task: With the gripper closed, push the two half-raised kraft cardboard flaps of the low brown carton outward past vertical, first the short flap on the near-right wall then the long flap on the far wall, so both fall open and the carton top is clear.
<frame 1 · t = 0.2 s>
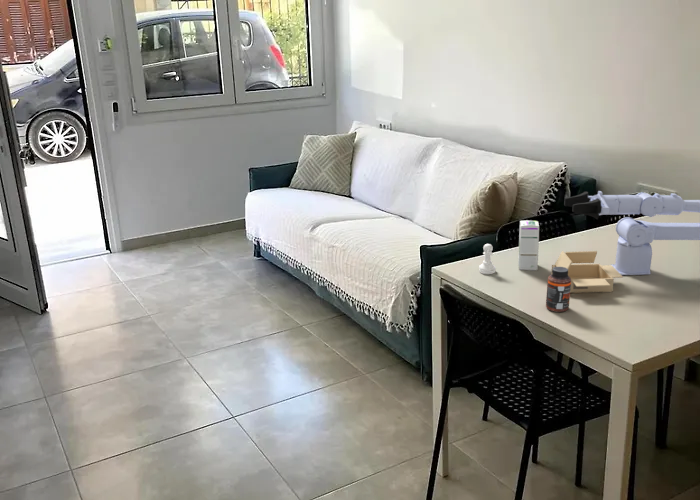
hand: (568, 205, 192), 21 cm above the table, tool horizontal, fingers open, 7 cm apart
chess pawn: (487, 272, 203), on the table
carton: (580, 284, 190), on the table
flap short: (579, 257, 192), point 7 cm above the table, hinge at -25.0°
supplement bottle: (557, 309, 176), on the table
flap long: (563, 263, 188), point 7 cm above the table, hinge at -25.0°
syrup box: (527, 267, 205), on the table
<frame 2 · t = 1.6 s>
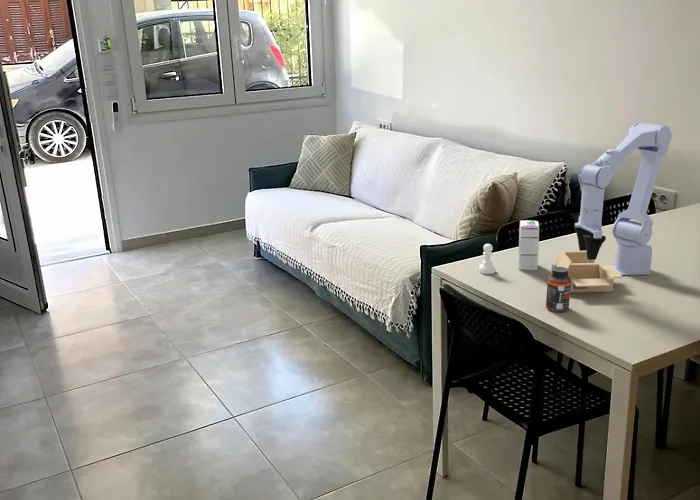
hand: (587, 254, 185), 10 cm above the table, tool pointing down, fingers open, 7 cm apart
nothing on the table moved.
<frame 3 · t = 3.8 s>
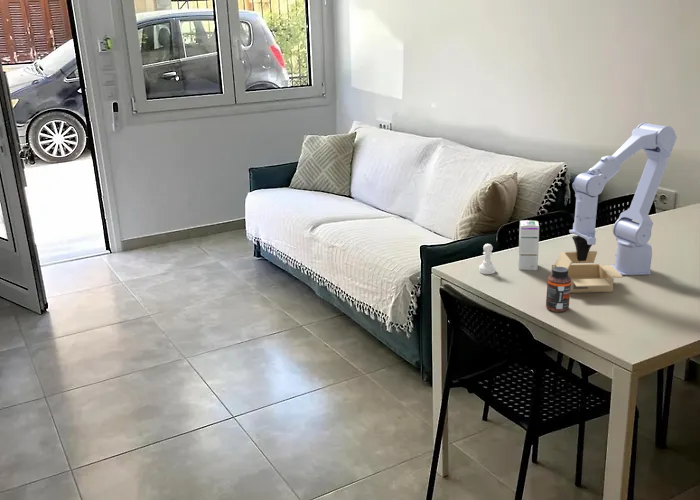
hand: (581, 260, 191), 6 cm above the table, tool pointing down, fingers closed, pressing on flap short
flap short: (579, 257, 192), point 7 cm above the table, hinge at -24.6°, touching gripper
everything else where it was.
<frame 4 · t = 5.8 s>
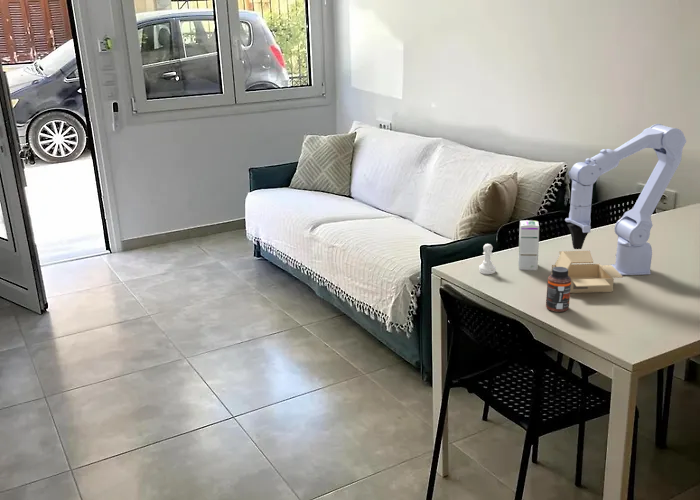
hand: (577, 248, 195), 8 cm above the table, tool pointing down, fingers closed
flap short: (576, 257, 196), point 6 cm above the table, hinge at 62.3°
everything else where it was.
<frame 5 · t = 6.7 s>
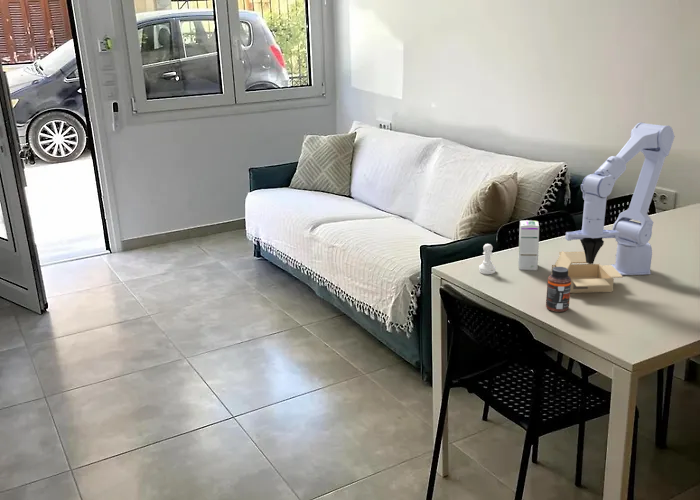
hand: (589, 262, 188), 7 cm above the table, tool pointing down, fingers closed
flap short: (576, 257, 196), point 6 cm above the table, hinge at 65.6°
everything else where it was.
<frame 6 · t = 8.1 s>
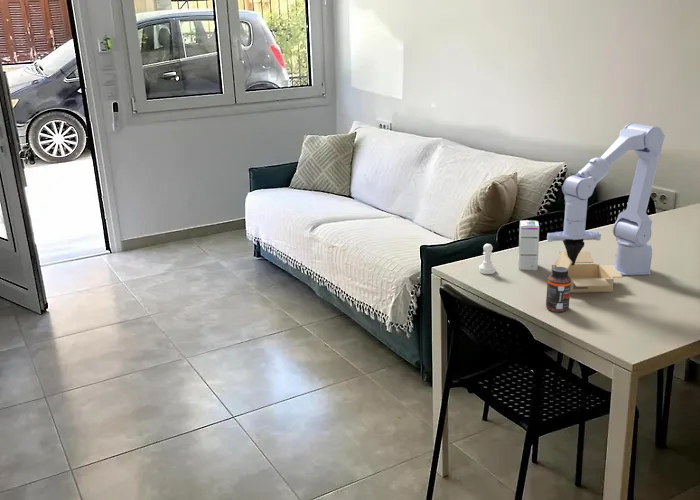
hand: (571, 264, 188), 6 cm above the table, tool pointing down, fingers closed, pressing on flap long
flap short: (576, 257, 196), point 6 cm above the table, hinge at 66.1°
flap long: (563, 263, 188), point 7 cm above the table, hinge at -25.0°, touching gripper
everything else where it was.
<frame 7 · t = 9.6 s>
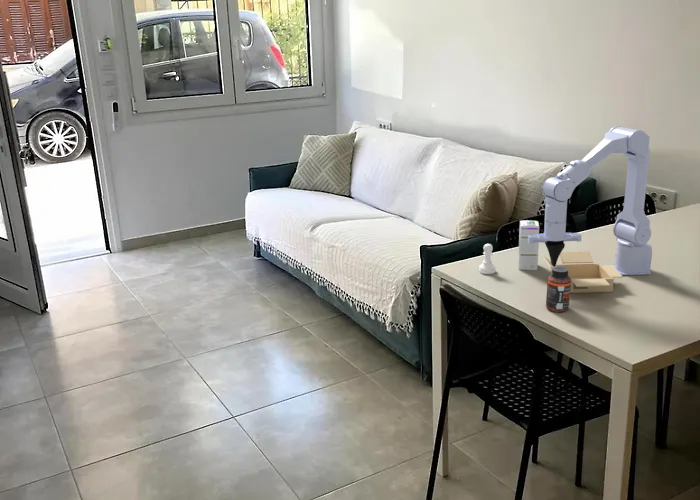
hand: (553, 265, 189), 6 cm above the table, tool pointing down, fingers closed, pressing on flap long
flap long: (552, 265, 189), point 6 cm above the table, hinge at 52.1°, touching gripper
everything else where it was.
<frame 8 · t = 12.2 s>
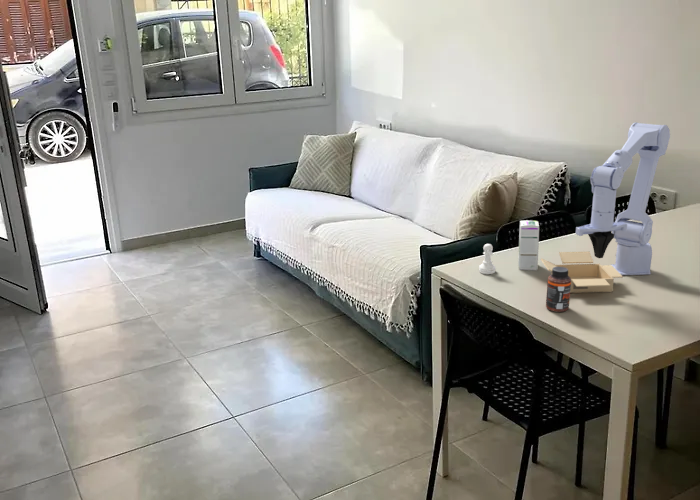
hand: (598, 256, 183), 10 cm above the table, tool pointing down, fingers closed
flap long: (551, 267, 189), point 6 cm above the table, hinge at 63.9°
everything else where it was.
at the end: flap short at +66° (first picture: -25°); flap long at +64° (first picture: -25°) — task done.
